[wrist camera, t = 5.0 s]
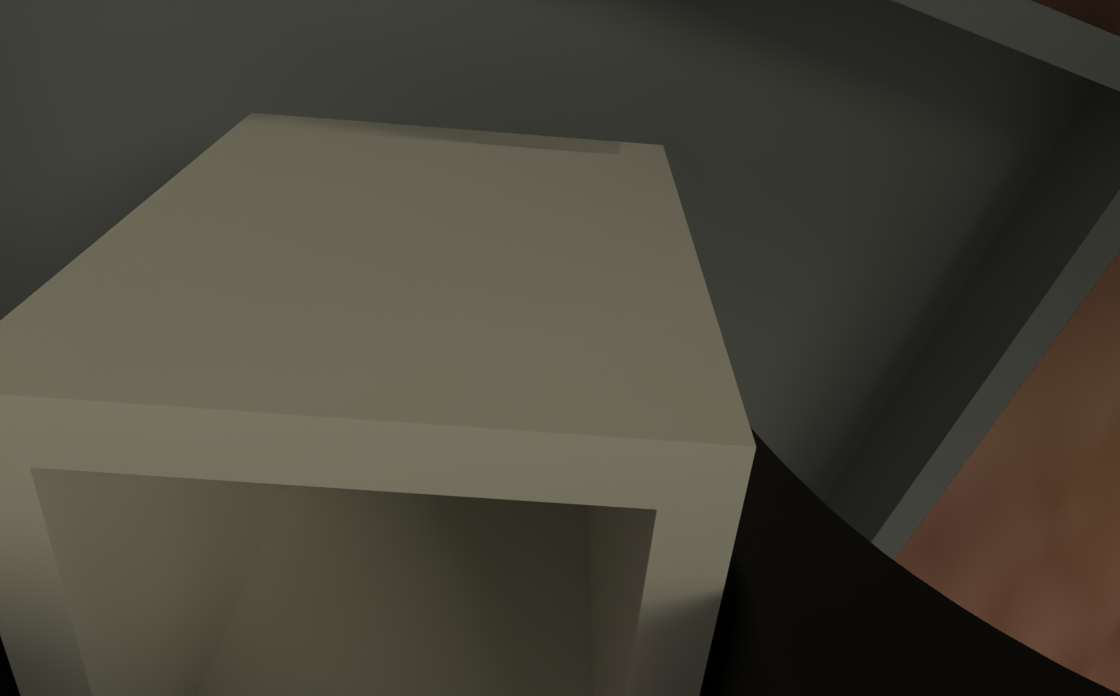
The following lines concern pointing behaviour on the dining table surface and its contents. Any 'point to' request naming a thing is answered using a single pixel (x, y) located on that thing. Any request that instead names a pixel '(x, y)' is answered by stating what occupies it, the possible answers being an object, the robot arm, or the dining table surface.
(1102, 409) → the dining table surface
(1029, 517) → the dining table surface
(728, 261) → the tray
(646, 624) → the open box
